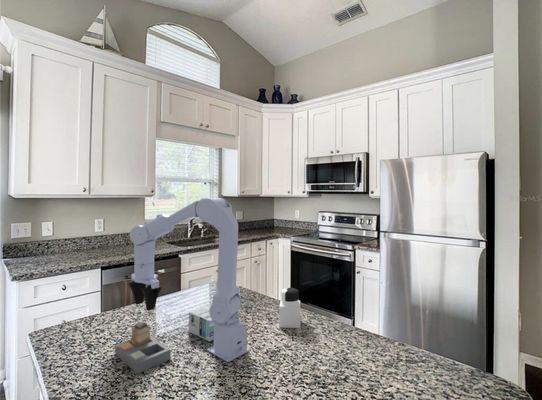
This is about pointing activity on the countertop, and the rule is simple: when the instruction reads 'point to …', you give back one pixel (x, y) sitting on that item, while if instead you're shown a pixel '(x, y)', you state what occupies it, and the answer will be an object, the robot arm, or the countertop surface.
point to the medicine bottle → (289, 308)
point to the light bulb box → (201, 323)
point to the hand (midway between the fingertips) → (144, 306)
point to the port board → (148, 351)
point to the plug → (140, 334)
